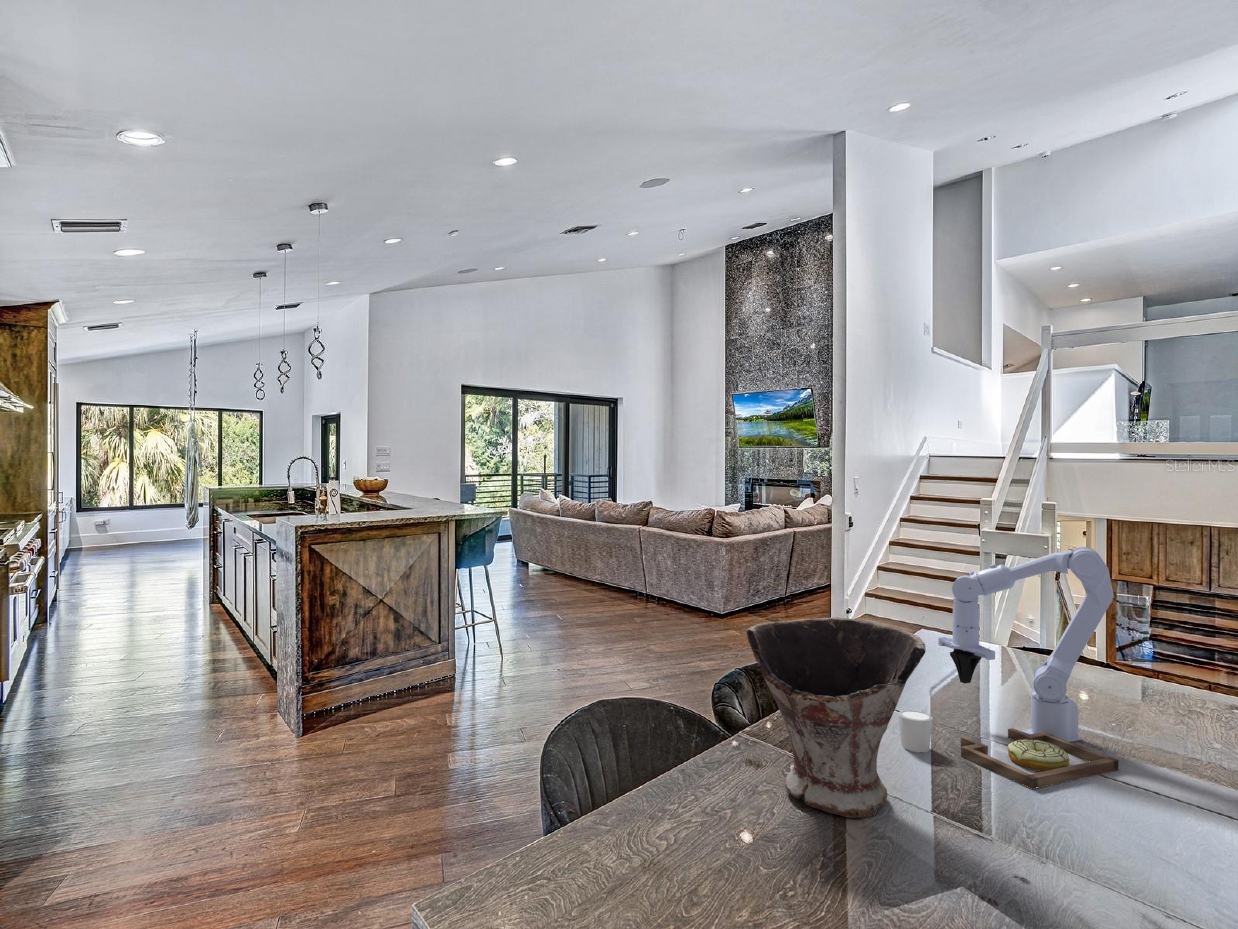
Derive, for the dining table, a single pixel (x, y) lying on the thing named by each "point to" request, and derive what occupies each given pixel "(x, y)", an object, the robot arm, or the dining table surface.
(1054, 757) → the decorated donut
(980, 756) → the frame
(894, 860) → the dining table surface
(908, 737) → the white cylinder
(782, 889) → the dining table surface
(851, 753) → the vessel
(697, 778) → the dining table surface
